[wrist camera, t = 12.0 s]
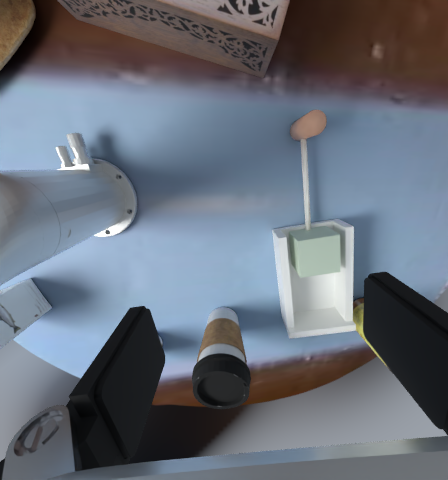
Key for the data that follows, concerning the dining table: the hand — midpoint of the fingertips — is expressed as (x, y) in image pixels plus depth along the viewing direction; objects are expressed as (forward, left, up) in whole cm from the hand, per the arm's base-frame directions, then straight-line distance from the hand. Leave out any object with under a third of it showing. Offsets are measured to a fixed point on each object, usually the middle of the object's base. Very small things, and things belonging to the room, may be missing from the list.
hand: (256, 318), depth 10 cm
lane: (+14, +11, -28) cm, 33 cm away
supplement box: (+11, -43, -28) cm, 53 cm away
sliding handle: (0, +11, -28) cm, 30 cm away
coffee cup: (+22, -6, -28) cm, 36 cm away
